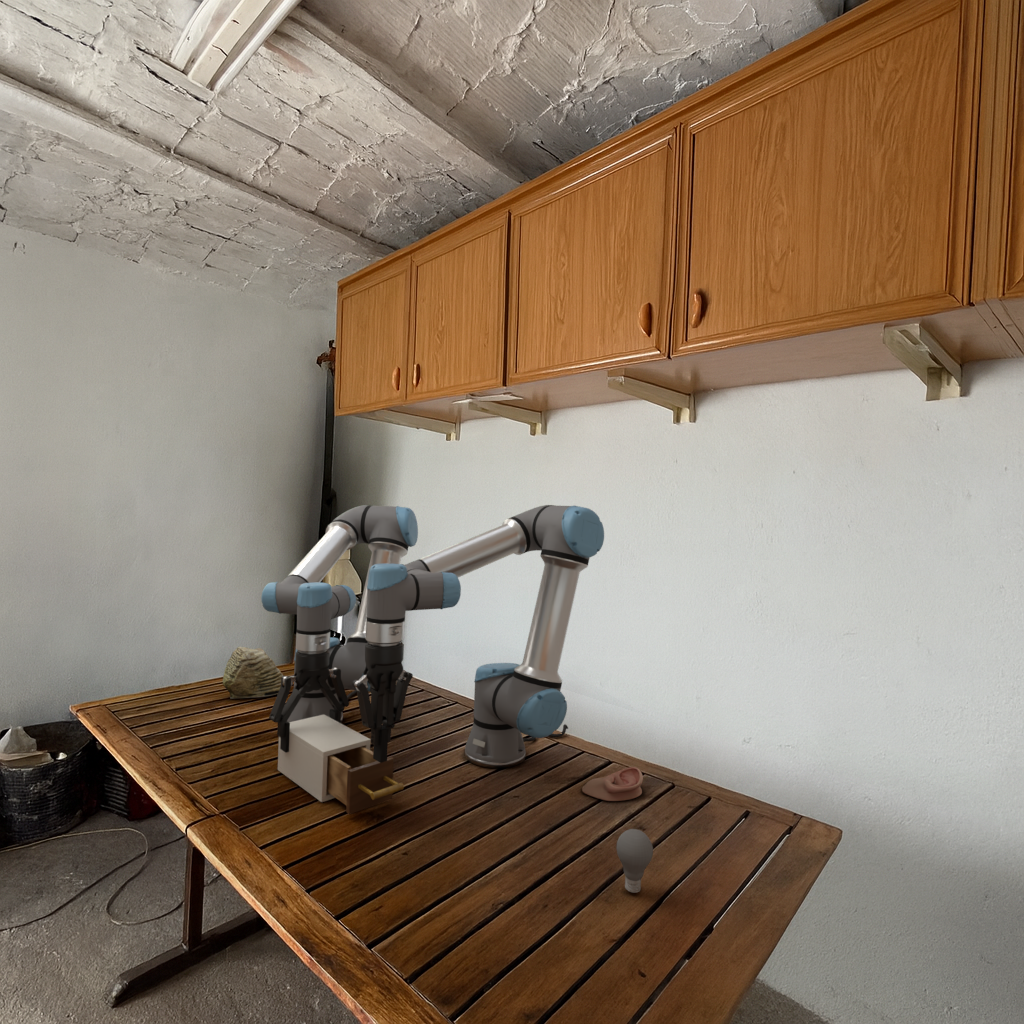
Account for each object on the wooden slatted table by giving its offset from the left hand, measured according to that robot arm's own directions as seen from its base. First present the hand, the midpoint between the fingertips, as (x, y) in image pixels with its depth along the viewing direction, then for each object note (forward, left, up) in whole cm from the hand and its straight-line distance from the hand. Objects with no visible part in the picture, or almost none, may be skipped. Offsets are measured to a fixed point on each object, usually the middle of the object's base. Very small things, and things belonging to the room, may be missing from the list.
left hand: (309, 744), depth 147 cm
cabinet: (+1, +6, -6) cm, 9 cm away
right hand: (+3, +29, +6) cm, 30 cm away
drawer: (+2, +20, -5) cm, 20 cm away
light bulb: (-10, +78, -6) cm, 79 cm away
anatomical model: (-40, +57, -6) cm, 70 cm away
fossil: (-19, -58, -6) cm, 61 cm away
